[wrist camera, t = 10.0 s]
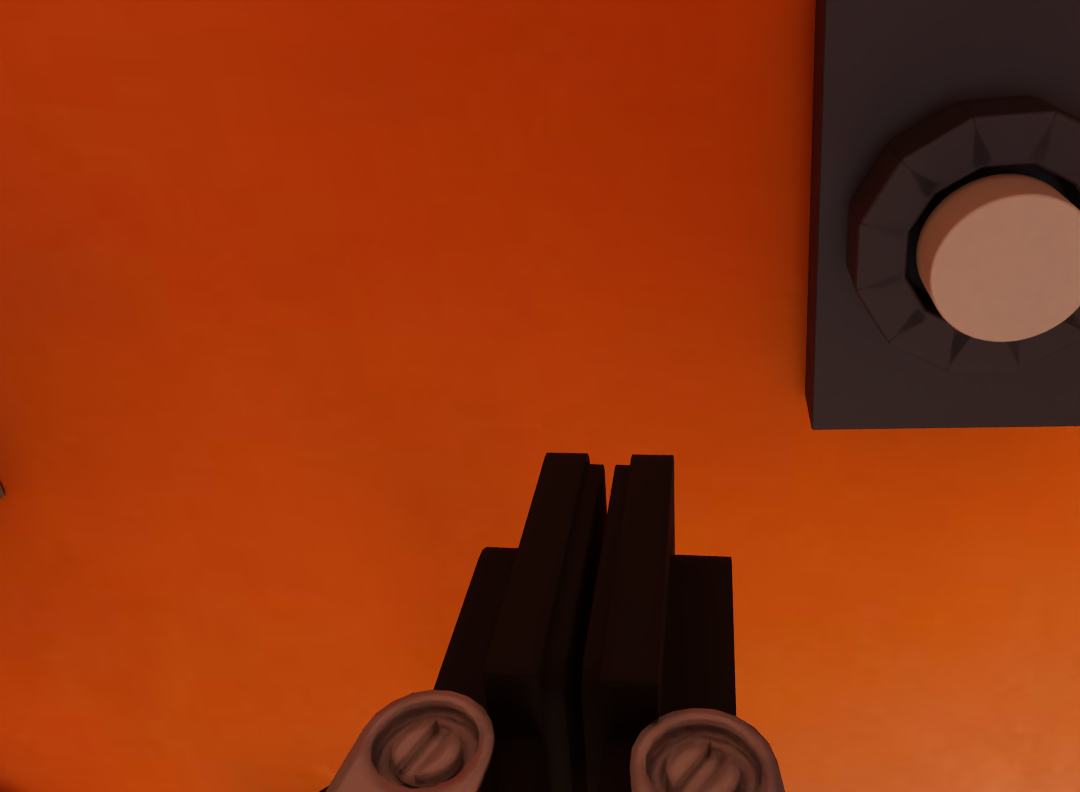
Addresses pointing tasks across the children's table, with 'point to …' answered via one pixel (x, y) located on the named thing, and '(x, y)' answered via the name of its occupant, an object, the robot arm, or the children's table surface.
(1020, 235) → the button
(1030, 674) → the children's table surface
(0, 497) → the chest
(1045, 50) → the control block
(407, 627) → the children's table surface
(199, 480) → the children's table surface
